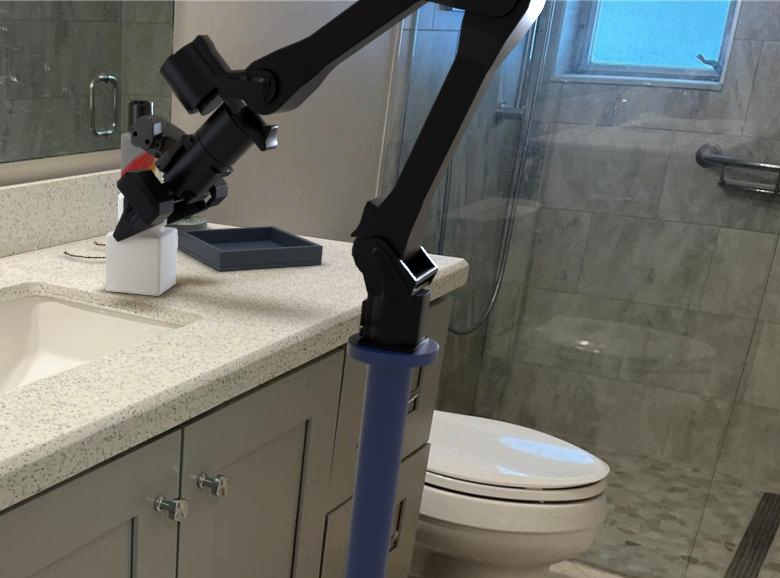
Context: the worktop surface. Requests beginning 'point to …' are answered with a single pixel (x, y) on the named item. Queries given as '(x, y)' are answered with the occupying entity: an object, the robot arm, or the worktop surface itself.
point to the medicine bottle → (141, 259)
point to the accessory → (85, 256)
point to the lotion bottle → (129, 153)
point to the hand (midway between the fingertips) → (132, 233)
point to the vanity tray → (249, 248)
